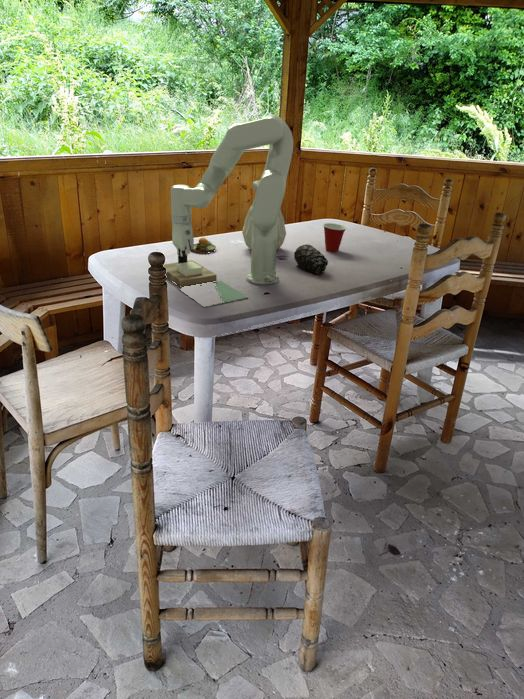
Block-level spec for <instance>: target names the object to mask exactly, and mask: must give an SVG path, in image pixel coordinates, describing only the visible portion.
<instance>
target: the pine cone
mask: <svg viewBox="0 0 524 699" xmlns="http://www.w3.org/2000/svg"><path fill="white" fill-rule="evenodd" d="M293 254H294V255H293V258H294V260H295V262H296V263H297V264H296V265H295V267H296V268H297V269H299V270H301V271H302V272H303V273H307V274H310V275H312V276H315V277H322V276H324V272H325V271H326V270H327V266H328V264H329V261H328V259H327V257H325V255H324V254H323V253H322V252H321V251H320V250H318V249H317V248H316V247H314V246H313V245H312V244H302V245H300V246H298V247H297V248H296V250H295V251H294V253H293Z"/></svg>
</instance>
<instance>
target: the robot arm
mask: <svg viewBox="0 0 524 699" xmlns="http://www.w3.org/2000/svg"><path fill="white" fill-rule="evenodd" d="M268 145H269V148H268V153H267V157H266V162H265V165H264V169H263V172H262V175H261V177H260V179H259V180H260V182H259V185H258V189H257V193H256V192H255V193H256V197H255V196H254V198H255V201H254V200H253V201H254V205H253V209H252V213H251V219H252V222H253V227H252V249H251V252H250V253H251V260H250V273H248V274H247V275H246V280H247V281H248V282H249V283H252V284H256V285H263V286H265V285H273V284H276V283H278V281H279V279H280V278H279V275H277V270H276V259H277V250H276V245H277V229H278V216H279V211H280V209H282V208H281V207H282V204H283V200H284V196H285V193H286V188H287V178H288V173H289V171H290V170H289V169H290V167H291V166H290V165H291V162H292V157H293V152H294V138H293V134H292V131H291V128H290V127H289V126H288V124H287V123H286V121H285V120H284V119H283V118H281V117H280V116H279V115H276V114H267V115H266V116H264V117H263V118H259V119H256V120H252V121H248V122H244V123H243V122H235V123H233V124H231V125H230V126H229V127H228V129H227V130H226V133H225V135H224V136H223V139H222V140H221V141H220V143H219V145H218V146H217V148H216V150H215V151H214V153H213V154H212V156H211V158H210V160H209V165H208V167H207V168H206V171H205V172H204V174H203V175H202V177H201V179H200V181H198V183H197V185H196V186H195V187H193V188H192V187H190V186H189V185H187V184H174V185H172V186H171V188H170V205H171V206H170V208H171V224H172V228H171V230H172V232H171V238H172V239H171V241H172V246H174V248H176V252H177V262H178V264H179V263H185V262H187V261H188V255H190V254H191V251H190V249H194V244H195V243H194V242H195V241H194V229H193V225H192V223H193V222H192V219H193V218H192V213H193V212H192V208H194V209H206V208H207V207H208V206H209V205H210V203H211V201H213V198H214V197H215V195H216V193H217V192H218V191H219V189H220V188H221V186H222V185H223V183H224V182H225V180H226V179H227V177H228V176H229V175H230V174H231V173H232V171H233V170H234V168H235V166H236V164H237V163H238V162H239V160H240V158H241V157H242V155H243V154H244V152H245V151H246V150H252V149H255V148H256V149H257V148H261V147H264V146H268Z"/></svg>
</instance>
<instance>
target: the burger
mask: <svg viewBox="0 0 524 699" xmlns="http://www.w3.org/2000/svg"><path fill="white" fill-rule="evenodd" d="M216 248H217V246H216V245H215V244H213V243H212V242H211V241H210V240H208V239H207V238H206V237H205V236H204V237H200V238H199V239H198V242H197V243H194V249H190V250H191V251H190V252H192V251H193V252H195V253H199V254H200V253H203V254H205V253H208V252H213V253H215V252H214V250H215V249H216ZM193 252H192V253H193ZM208 254H209V253H208Z"/></svg>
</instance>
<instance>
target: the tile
mask: <svg viewBox="0 0 524 699" xmlns="http://www.w3.org/2000/svg"><path fill="white" fill-rule="evenodd" d="M194 262H195V261H194ZM194 262H185V263H179V264H176V270H177V271H178V272H180V273H181V274H183V275H184V276H191V275H197V274H202V267H201V266H202V265H201V266H199V265H200V264H199V265H197V264H196V263H197V262H196V263H194Z"/></svg>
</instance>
